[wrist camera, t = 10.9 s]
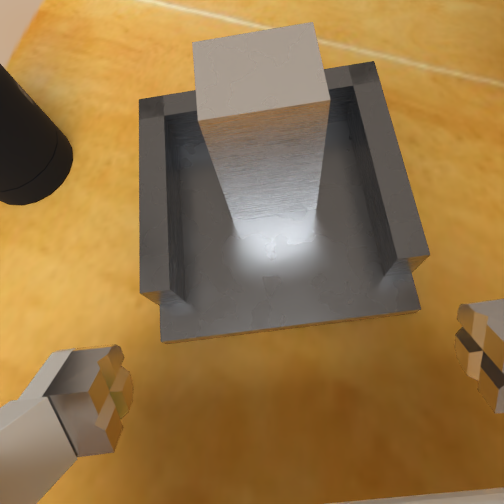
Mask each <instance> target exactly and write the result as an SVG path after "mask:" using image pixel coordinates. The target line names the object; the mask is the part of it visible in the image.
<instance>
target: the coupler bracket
mask: <svg viewBox="0 0 504 504" xmlns="http://www.w3.org/2000/svg"><path fill="white" fill-rule="evenodd" d="M324 73H325V78H326V82H327V87H328V91H329V95H330V107H329V115H328V123H327V130H326V138H325V146H324V153H323V161H322V169H321V176H320V184H319V192H318V199H317V207H316V209H309V210H302V211H295V212H288V213H281V214H274V215H267V216H260V217H253V218H245V219H238V220H233V219H232V216H231V213H230V210H229V208H228V205H227V202H226V199H225V196H224V193H223V191H222V188H221V185H220V182H219V179H218V176H217V174H216V171H215V168H214V165H213V162H212V159H211V157H210V154H209V151H208V148H207V145H206V142H205V140H204V137H203V134H202V131H201V128H200V125H199V123H198V116H197V102H196V90H194V91H188V92H182V93H176V94H170V95H164V96H157V97H151V98H145V99H139V222H140V294H142V295H143V296H145V297H147V298H148V299H150V300H151V301H153V302H154V303H156V304H158V305H159V306H160V333H161V342H162V343H165V344H170V343H178V342H186V341H194V340H202V339H210V338H218V337H226V336H234V335H242V334H250V333H258V332H266V331H274V330H282V329H290V328H298V327H306V326H314V325H322V324H330V323H339V322H347V321H355V320H363V319H371V318H379V317H387V316H395V315H403V314H411V313H416V312H418V311H419V310H421V307H420V303H419V299H418V295H417V292H416V288H415V284H414V280H413V277H412V272H413V271H414V270H415V269H416V268H417V267H418V266H419V265H420V264H421V263H422V262H423V261H424V260H425V259H426V258H427V257H428V256H429V255H430V252H429V249H428V245H427V242H426V238H425V235H424V231H423V228H422V224H421V221H420V218H419V214H418V211H417V207H416V204H415V200H414V197H413V193H412V190H411V187H410V183H409V180H408V176H407V173H406V169H405V166H404V162H403V159H402V156H401V152H400V149H399V145H398V142H397V138H396V135H395V132H394V128H393V125H392V121H391V118H390V114H389V111H388V107H387V104H386V101H385V97H384V94H383V90H382V87H381V83H380V80H379V76H378V73H377V70H376V66H375V63H374V61H372V62H366V63H360V64H354V65H348V66H342V67H335V68H329V69H324Z"/></svg>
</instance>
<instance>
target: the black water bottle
mask: <svg viewBox="0 0 504 504" xmlns="http://www.w3.org/2000/svg"><path fill="white" fill-rule="evenodd" d="M72 160H73V159H72V147H71V145H70V143H69V141H68V139H67V138H66V136H65V135H64V134H63V133H62V132H61V131H60V130H59V129H58V128H57V126H56V125H55V124H54V123H53V122H52V121H51V120H50V119H49V117H48V116H47V115H46V114H45V113H44V112H43V111H42V110H41V109H40V107H39V106H38V105H37V104H36V103H35V102H34V101H33V100H32V99H31V97H30V96H29V95H28V94H27V93H26V92H25V91H24V90H23V89H22V87H21V86H20V85H19V84H18V83H17V82H16V81H15V80H14V79H13V77H12V76H11V75H10V74H9V73H8V72H7V71H6V70H5V69H4V67H3V66H2V65H1V64H0V201H2V202H4V203H7V204H10V205H25V204H29V203H33V202H37V201H39V200H41V199H42V198H44V197H46V196H48V195H50V194H51V193H52V192H53V191H54V190H55V189H57V188H58V187H59V186H60V185H61V184H62V182H63V181H64V179H65V178H66V176H67V174H68V173H69V170H70V167H71V163H72Z"/></svg>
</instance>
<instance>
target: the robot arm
mask: <svg viewBox="0 0 504 504" xmlns="http://www.w3.org/2000/svg"><path fill="white" fill-rule="evenodd" d="M457 320H458V321H459V322H460V324H461V325H462V326H463V327H462V328H461V329H460V330H459V331H458V332H457V333H456V335H455V351H456V356H457V359H458V361H459V364H460V366H461V368H462V369H463V370H464V372H465V373H466V375H468V376H469V377H471V378H473V379H475V380H477V381H479V382H478V391H479V393H480V394H481V395H482V397H483V398H484V399H485V401H486V402H487V403H488V405H489V406H490V407H491V409H492V410H493V411H494V413H504V299H497V300H489V301H482V302H474V303H466V304H461V305H460V307H459V309H458V313H457ZM123 360H124V355H123V353H122V350H121V348H120V347H119V346H118V345H116V344H114V345H104V346H94V347H83V348H77V349H75V348H73V349H65V350H57V351H55V352H53V353H52V354H51V355H50V356H49V358H48V359H47V360H46V362H45V363H44V365H43V366H42V367H41V369H40V370H39V371H38V373H37V374H36V375H35V377H34V378H33V380H32V381H31V382H30V384H29V385H28V386H27V388H26V389H25V391H24V392H23V393H22V395H21V396H20V397H19V399H18V400H14V401H10V402H8V403H7V404H5V405H4V406H2V407H1V408H0V504H36V503H37V502H38V501H39V500H40V499H41V498H42V497H43V496H44V495H45V494H46V493H47V492H48V490H49V489H50V488H51V487H52V486H53V485H54V484H55V483H56V482H57V481H58V480H59V479H60V477H61V476H62V475H63V474H64V473H65V472H66V471H67V470H68V469H69V468H70V467H71V466H72V465H73V463H74V462H75V461H76V460H77V457H82V456H90V455H97V454H105V453H113V452H114V451H115V448H116V446H117V443H118V440H119V438H120V435H121V432H122V430H123V425H122V422H121V420H120V419H121V418H123V417H124V416H125V415H126V414H127V413H128V412H129V410H130V407H131V404H132V401H133V390H134V389H133V382H132V378H131V375H130V372H129V371H128V370H126V369H125V368H124V367H122V366H121V365H122V362H123ZM326 504H504V487H501V488H490V489H479V490H468V491H457V492H446V493H435V494H424V495H413V496H402V497H391V498H381V499H370V500H359V501H348V502H337V503H326Z"/></svg>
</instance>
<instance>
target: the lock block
mask: <svg viewBox="0 0 504 504" xmlns="http://www.w3.org/2000/svg"><path fill="white" fill-rule="evenodd" d="M192 44H193V59H194V73H195V87H196V102H197V116H198V123H199V125H200V128H201V131H202V134H203V137H204V140H205V142H206V145H207V148H208V151H209V154H210V157H211V159H212V162H213V165H214V168H215V171H216V174H217V176H218V179H219V182H220V185H221V188H222V191H223V193H224V196H225V199H226V202H227V205H228V208H229V210H230V213H231V216H232V219H233V220H238V219H245V218H253V217H260V216H267V215H274V214H281V213H288V212H295V211H302V210H309V209H316V207H317V199H318V192H319V184H320V176H321V169H322V161H323V153H324V146H325V138H326V130H327V123H328V115H329V107H330V95H329V91H328V87H327V82H326V78H325V73H324V69H323V64H322V60H321V56H320V51H319V47H318V42H317V38H316V33H315V29H314V25H313V22H310V23H304V24H298V25H292V26H287V27H281V28H275V29H269V30H263V31H257V32H251V33H245V34H239V35H234V36H228V37H222V38H216V39H210V40H204V41H198V42H192Z"/></svg>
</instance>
